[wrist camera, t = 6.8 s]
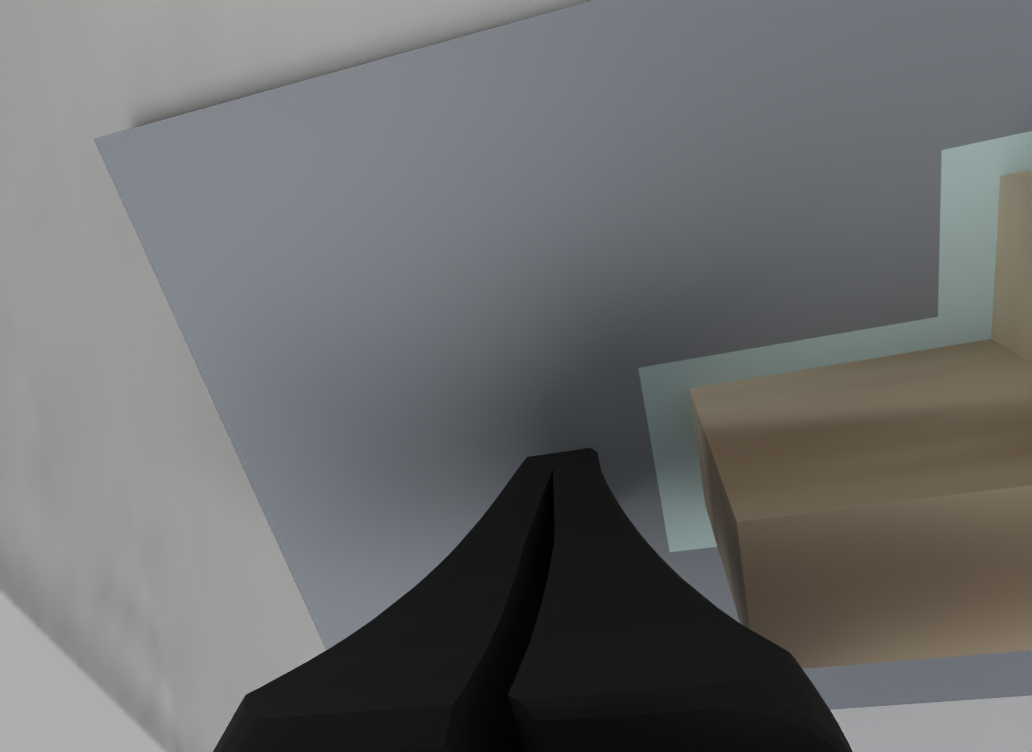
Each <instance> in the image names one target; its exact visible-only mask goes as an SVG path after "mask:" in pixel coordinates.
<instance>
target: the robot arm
mask: <svg viewBox="0 0 1032 752" xmlns="http://www.w3.org/2000/svg"><path fill="white" fill-rule="evenodd" d="M213 752H852V750H851V748H850V745H849V743H848V741H847V739H846V738H845V736H844V734H843V732H842V730H841V729H840V727H839V725H838V723H837V721H836V720H835V718H834V716H833V714H832V713H831V711H830V709H829V708H828V706H827V704H826V703H825V701H824V700H823V698H822V697H821V695H820V694H819V692H818V691H817V689H816V688H815V686H814V685H813V683H812V682H811V680H810V679H809V677H808V676H807V675H806V673H805V672H804V670H803V669H802V668H801V666H800V665H799V663H798V662H797V661H796V659H795V658H794V657H793V655H792V654H791V653H790V652H788V651H787V650H785V649H783V648H782V647H780V646H778V645H776V644H775V643H773V642H771V641H770V640H768V639H766V638H764V637H763V636H761V635H759V634H757V633H756V632H754V631H752V630H750V629H749V628H747V627H745V626H743V625H742V624H740V623H739V622H738V621H736V620H735V619H733V618H732V617H730V616H729V615H728V614H726V613H725V612H723V611H722V610H721V609H719V608H718V607H716V606H715V605H714V604H713V603H712V602H710V601H709V600H708V599H707V598H705V597H704V596H703V595H702V594H701V593H699V592H698V591H697V590H696V589H695V588H693V587H692V586H691V585H690V584H688V583H687V582H686V581H685V580H684V579H682V578H681V577H680V576H679V575H678V574H677V573H676V572H675V571H674V570H673V569H672V568H671V567H670V566H669V565H668V564H667V563H666V562H665V561H664V560H663V559H662V558H661V557H660V556H659V555H658V554H657V553H656V551H655V550H654V549H653V548H652V547H651V546H650V545H649V544H648V542H647V541H646V540H645V539H644V538H643V536H642V535H641V534H640V533H639V532H638V530H637V529H636V528H635V526H634V525H633V524H632V522H631V521H630V520H629V518H628V517H627V515H626V514H625V512H624V511H623V509H622V508H621V506H620V505H619V503H618V501H617V500H616V498H615V496H614V495H613V493H612V492H611V490H610V488H609V486H608V484H607V482H606V480H605V478H604V476H603V473H602V471H601V466H600V461H599V456H598V452H596V451H595V450H593V449H592V448H585V449H578V450H572V451H565V452H558V453H551V454H544V455H537V456H530V457H526V459H525V460H524V461H523V463H522V464H521V465H520V467H519V468H518V469H517V471H516V472H515V473H514V475H513V476H512V478H511V479H510V480H509V482H508V483H507V484H506V486H505V487H504V489H503V490H502V491H501V493H500V494H499V495H498V497H497V498H496V499H495V501H494V502H493V503H492V505H491V506H490V507H489V509H488V510H487V511H486V512H485V514H484V515H483V516H482V518H481V519H480V520H479V521H478V522H477V523H476V525H475V526H474V527H473V528H472V529H471V530H470V532H469V533H468V534H467V535H466V536H465V537H464V538H463V540H462V541H461V542H460V543H459V544H458V545H457V547H456V548H455V549H454V550H453V551H452V552H451V553H450V554H449V555H448V556H447V557H446V558H445V559H444V560H443V561H442V562H441V563H440V564H439V565H438V566H437V567H436V568H434V569H433V570H432V571H431V572H430V573H429V574H428V575H427V576H426V577H425V578H424V579H423V580H422V581H420V582H419V583H418V584H417V585H416V586H415V587H413V588H412V589H411V590H410V591H409V592H407V593H406V594H405V595H403V596H402V597H401V598H400V599H398V600H397V601H396V602H395V603H393V604H392V605H391V606H389V607H388V608H387V609H386V610H384V611H383V612H382V613H381V614H379V615H378V616H377V617H375V618H374V619H373V620H371V621H370V622H369V623H367V624H366V625H364V626H363V627H361V628H360V629H358V630H357V631H355V632H354V633H353V634H351V635H350V636H348V637H347V638H345V639H343V640H342V641H340V642H339V643H337V644H336V645H334V646H332V647H331V648H329V649H328V650H326V651H325V652H323V653H321V654H320V655H318V656H316V657H315V658H313V659H311V660H310V661H308V662H306V663H304V664H302V665H301V666H299V667H297V668H295V669H293V670H291V671H290V672H288V673H286V674H284V675H282V676H280V677H279V678H277V679H275V680H273V681H271V682H270V683H268V684H266V685H264V686H262V687H260V688H258V689H256V690H254V691H252V692H250V693H248V694H246V696H245V697H244V699H243V701H242V702H241V704H240V705H239V707H238V709H237V711H236V712H235V714H234V716H233V718H232V719H231V721H230V723H229V725H228V726H227V728H226V730H225V732H224V733H223V735H222V737H221V739H220V740H219V742H218V744H217V746H216V747H215V749H214V751H213Z"/></svg>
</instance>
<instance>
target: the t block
mask: <svg viewBox="0 0 1032 752" xmlns="http://www.w3.org/2000/svg"><path fill="white" fill-rule="evenodd" d="M689 393H690V400H691V407H692V414H693V421H694V428H695V436H696V443H697V450H698V457H699V464H700V471H701V478H702V486H703V493H704V500H705V506H706V510H707V513H708V517H709V520H710V523H711V527H712V530H713V533H714V537H715V540H716V544H717V547H718V550H719V554H720V557H721V560H722V564H723V567H724V571H725V574H726V577H727V581H728V584H729V588H730V591H731V594H732V598H733V601H734V604H735V608H736V611H737V615H738V618H739V621H740V624H742V625H743V626H745V627H747V628H749V629H750V630H752V631H754V632H756V633H757V634H759V635H761V636H763V637H764V638H766V639H768V640H770V641H771V642H773V643H775V644H776V645H778V646H780V647H782V648H783V649H785V650H787V651H788V652H790V653H791V654H792V655H793V657H794V658H795V659H796V661H797V662H798V663H799V665H800V666H801V668H802V669H809V668H821V667H833V666H845V665H857V664H869V663H882V662H894V661H906V660H918V659H930V658H942V657H955V656H967V655H979V654H991V653H1003V652H1015V651H1027V650H1031V651H1032V169H1031V170H1027V171H1022V172H1017V173H1012V174H1007V175H1002V176H1000V189H999V207H998V224H997V242H996V260H995V278H994V296H993V313H992V331H991V339H988V340H982V341H976V342H970V343H964V344H958V345H951V346H945V347H939V348H933V349H927V350H921V351H915V352H908V353H902V354H896V355H890V356H884V357H878V358H872V359H865V360H859V361H853V362H847V363H841V364H835V365H829V366H823V367H816V368H810V369H804V370H798V371H792V372H786V373H780V374H774V375H767V376H761V377H755V378H749V379H743V380H737V381H731V382H724V383H718V384H712V385H706V386H700V387H694V388H689Z"/></svg>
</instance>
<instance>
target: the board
mask: <svg viewBox="0 0 1032 752" xmlns="http://www.w3.org/2000/svg"><path fill="white" fill-rule="evenodd" d="M94 141H95V143H96V145H97V147H98V150H99V152H100V154H101V156H102V158H103V161H104V163H105V165H106V167H107V169H108V172H109V174H110V176H111V178H112V180H113V183H114V185H115V187H116V189H117V191H118V194H119V196H120V198H121V200H122V202H123V205H124V207H125V209H126V211H127V213H128V216H129V218H130V220H131V222H132V224H133V227H134V229H135V231H136V233H137V235H138V238H139V240H140V242H141V244H142V246H143V248H144V251H145V253H146V255H147V257H148V259H149V262H150V264H151V266H152V268H153V270H154V273H155V275H156V277H157V279H158V281H159V284H160V286H161V288H162V290H163V292H164V295H165V297H166V299H167V301H168V303H169V306H170V308H171V310H172V312H173V314H174V317H175V319H176V321H177V323H178V325H179V328H180V330H181V332H182V334H183V336H184V339H185V341H186V343H187V345H188V347H189V350H190V352H191V354H192V356H193V358H194V361H195V363H196V365H197V367H198V369H199V372H200V374H201V376H202V378H203V380H204V383H205V385H206V387H207V389H208V391H209V394H210V396H211V398H212V400H213V402H214V405H215V407H216V409H217V411H218V413H219V416H220V418H221V420H222V422H223V424H224V427H225V429H226V431H227V433H228V435H229V437H230V440H231V442H232V444H233V446H234V448H235V451H236V453H237V455H238V457H239V459H240V462H241V464H242V466H243V468H244V470H245V473H246V475H247V477H248V479H249V481H250V484H251V486H252V488H253V490H254V492H255V495H256V497H257V499H258V501H259V503H260V506H261V508H262V510H263V512H264V514H265V517H266V519H267V521H268V523H269V525H270V528H271V530H272V532H273V534H274V536H275V539H276V541H277V543H278V545H279V547H280V550H281V552H282V554H283V556H284V558H285V561H286V563H287V565H288V567H289V569H290V572H291V574H292V576H293V578H294V580H295V583H296V585H297V587H298V589H299V591H300V594H301V596H302V598H303V600H304V602H305V605H306V607H307V609H308V611H309V613H310V616H311V618H312V620H313V622H314V624H315V627H316V629H317V631H318V633H319V635H320V637H321V640H322V642H323V644H324V646H325V648H326V650H328V649H329V648H331V647H332V646H334V645H336V644H337V643H339V642H340V641H342V640H343V639H345V638H347V637H348V636H350V635H351V634H353V633H354V632H355V631H357V630H358V629H360V628H361V627H363V626H364V625H366V624H367V623H369V622H370V621H371V620H373V619H374V618H375V617H377V616H378V615H379V614H381V613H382V612H383V611H384V610H386V609H387V608H388V607H389V606H391V605H392V604H393V603H395V602H396V601H397V600H398V599H400V598H401V597H402V596H403V595H405V594H406V593H407V592H409V591H410V590H411V589H412V588H413V587H415V586H416V585H417V584H418V583H419V582H420V581H422V580H423V579H424V578H425V577H426V576H427V575H428V574H429V573H430V572H431V571H432V570H433V569H434V568H436V567H437V566H438V565H439V564H440V563H441V562H442V561H443V560H444V559H445V558H446V557H447V556H448V555H449V554H450V553H451V552H452V551H453V550H454V549H455V548H456V547H457V545H458V544H459V543H460V542H461V541H462V540H463V538H464V537H465V536H466V535H467V534H468V533H469V532H470V530H471V529H472V528H473V527H474V526H475V525H476V523H477V522H478V521H479V520H480V519H481V518H482V516H483V515H484V514H485V512H486V511H487V510H488V509H489V507H490V506H491V505H492V503H493V502H494V501H495V499H496V498H497V497H498V495H499V494H500V493H501V491H502V490H503V489H504V487H505V486H506V484H507V483H508V482H509V480H510V479H511V478H512V476H513V475H514V473H515V472H516V471H517V469H518V468H519V467H520V465H521V464H522V463H523V461H524V460H525V459H526V457H530V456H537V455H544V454H551V453H558V452H565V451H572V450H578V449H585V448H592V449H593V450H595V451H596V452H598V456H599V461H600V466H601V471H602V473H603V476H604V478H605V480H606V482H607V484H608V486H609V488H610V490H611V492H612V493H613V495H614V496H615V498H616V500H617V501H618V503H619V505H620V506H621V508H622V509H623V511H624V512H625V514H626V515H627V517H628V518H629V520H630V521H631V522H632V524H633V525H634V526H635V528H636V529H637V530H638V532H639V533H640V534H641V535H642V536H643V538H644V539H645V540H646V541H647V542H648V544H649V545H650V546H651V547H652V548H653V549H654V550H655V551H656V553H657V554H658V555H659V556H660V557H661V558H662V559H663V560H664V561H665V562H666V563H667V564H668V565H669V566H670V567H671V568H672V569H673V570H674V571H675V572H676V573H677V574H678V575H679V576H680V577H681V578H682V579H684V580H685V581H686V582H687V583H688V584H690V585H691V586H692V587H693V588H695V589H696V590H697V591H698V592H699V593H701V594H702V595H703V596H704V597H705V598H707V599H708V600H709V601H710V602H712V603H713V604H714V605H715V606H716V607H718V608H719V609H721V610H722V611H723V612H725V613H726V614H728V615H729V616H730V617H732V618H733V619H735V620H736V621H738V622H739V623H740V621H739V618H738V615H737V611H736V608H735V604H734V601H733V598H732V594H731V591H730V588H729V584H728V581H727V577H726V574H725V571H724V567H723V564H722V560H721V557H720V554H719V550H718V547H717V544H716V540H715V537H714V533H713V530H712V527H711V523H710V520H709V517H708V513H707V510H706V506H705V500H704V493H703V486H702V478H701V471H700V464H699V457H698V450H697V443H696V436H695V428H694V421H693V414H692V407H691V400H690V393H689V388H694V387H700V386H706V385H712V384H718V383H724V382H731V381H737V380H743V379H749V378H755V377H761V376H767V375H774V374H780V373H786V372H792V371H798V370H804V369H810V368H816V367H823V366H829V365H835V364H841V363H847V362H853V361H859V360H865V359H872V358H878V357H884V356H890V355H896V354H902V353H908V352H915V351H921V350H927V349H933V348H939V347H945V346H951V345H958V344H964V343H970V342H976V341H982V340H988V339H991V331H992V313H993V296H994V278H995V260H996V242H997V224H998V207H999V189H1000V176H1002V175H1007V174H1012V173H1017V172H1022V171H1027V170H1031V169H1032V0H592V1H588V2H585V3H581V4H577V5H574V6H570V7H567V8H563V9H559V10H556V11H552V12H549V13H545V14H541V15H538V16H534V17H531V18H527V19H523V20H520V21H516V22H513V23H509V24H505V25H502V26H498V27H495V28H491V29H487V30H484V31H480V32H477V33H473V34H469V35H466V36H462V37H459V38H455V39H451V40H448V41H444V42H441V43H437V44H433V45H430V46H426V47H423V48H419V49H416V50H412V51H408V52H405V53H401V54H398V55H394V56H390V57H387V58H383V59H380V60H376V61H372V62H369V63H365V64H362V65H358V66H354V67H351V68H347V69H344V70H340V71H336V72H333V73H329V74H326V75H322V76H318V77H315V78H311V79H308V80H304V81H300V82H297V83H293V84H290V85H286V86H282V87H279V88H275V89H272V90H268V91H264V92H261V93H257V94H254V95H250V96H246V97H243V98H239V99H236V100H232V101H229V102H225V103H221V104H218V105H214V106H211V107H207V108H203V109H200V110H196V111H193V112H189V113H185V114H182V115H178V116H175V117H171V118H167V119H164V120H160V121H157V122H153V123H149V124H146V125H142V126H139V127H135V128H131V129H128V130H124V131H121V132H117V133H113V134H110V135H106V136H103V137H99V138H95V139H94ZM803 670H804V672H805V673H806V675H807V676H808V677H809V679H810V680H811V682H812V683H813V685H814V686H815V688H816V689H817V691H818V692H819V694H820V695H821V697H822V698H823V700H824V701H825V703H826V704H827V706H828V708H829V709H843V708H857V707H871V706H885V705H899V704H913V703H928V702H942V701H956V700H970V699H984V698H998V697H1013V696H1027V695H1032V651H1031V650H1027V651H1015V652H1003V653H991V654H979V655H967V656H955V657H942V658H930V659H918V660H906V661H894V662H882V663H869V664H857V665H845V666H833V667H821V668H809V669H803Z"/></svg>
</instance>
